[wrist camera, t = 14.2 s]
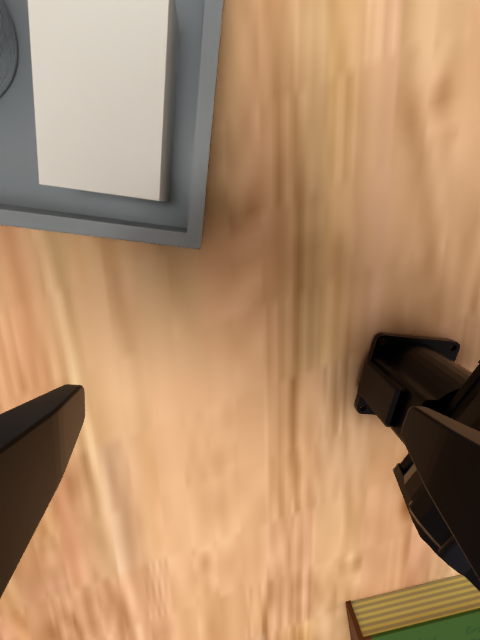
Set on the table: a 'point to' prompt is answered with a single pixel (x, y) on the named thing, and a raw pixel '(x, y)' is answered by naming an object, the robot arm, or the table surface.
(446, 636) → the hardcover book
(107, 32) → the white rectangular block
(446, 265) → the table surface
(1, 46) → the steel tin
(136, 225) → the tote
